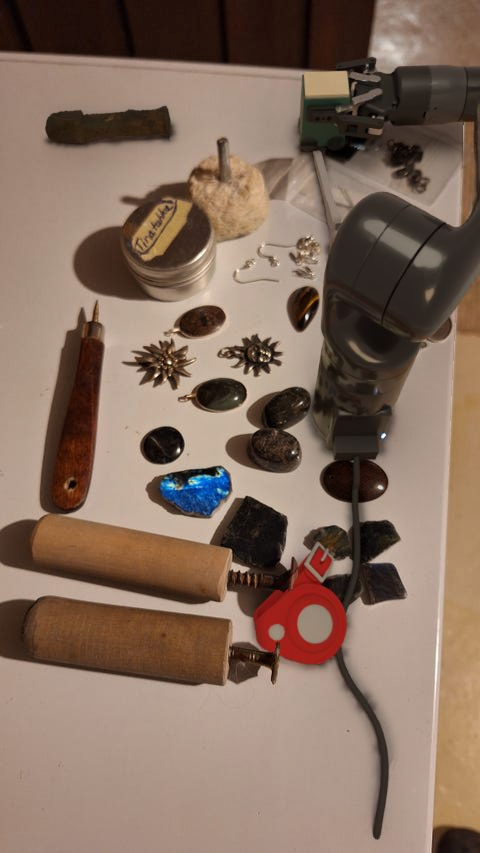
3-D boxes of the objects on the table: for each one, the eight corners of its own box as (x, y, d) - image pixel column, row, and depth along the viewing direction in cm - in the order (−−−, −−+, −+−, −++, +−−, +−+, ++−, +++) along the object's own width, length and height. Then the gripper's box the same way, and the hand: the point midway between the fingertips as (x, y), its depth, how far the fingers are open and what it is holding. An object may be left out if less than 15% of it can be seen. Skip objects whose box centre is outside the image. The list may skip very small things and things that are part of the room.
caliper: (340, 262, 87) (345, 230, 81) (332, 262, 87) (336, 231, 81) (319, 153, 95) (323, 117, 89) (312, 153, 95) (315, 118, 89)
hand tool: (172, 122, 98) (168, 96, 94) (171, 141, 97) (167, 115, 93) (51, 128, 99) (42, 102, 95) (49, 147, 97) (39, 121, 93)
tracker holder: (362, 656, 65) (271, 679, 62) (345, 651, 69) (258, 672, 66) (338, 538, 67) (248, 555, 64) (322, 540, 71) (238, 556, 69)
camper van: (344, 151, 95) (352, 95, 86) (298, 152, 95) (302, 96, 86) (342, 126, 97) (349, 69, 88) (297, 127, 97) (300, 71, 88)
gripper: (426, 36, 89) (305, 40, 89) (440, 109, 83) (310, 113, 83) (414, 84, 96) (302, 87, 96) (426, 154, 90) (306, 158, 90)
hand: (306, 99), depth 90 cm, fingers closed on camper van, 5 cm apart
